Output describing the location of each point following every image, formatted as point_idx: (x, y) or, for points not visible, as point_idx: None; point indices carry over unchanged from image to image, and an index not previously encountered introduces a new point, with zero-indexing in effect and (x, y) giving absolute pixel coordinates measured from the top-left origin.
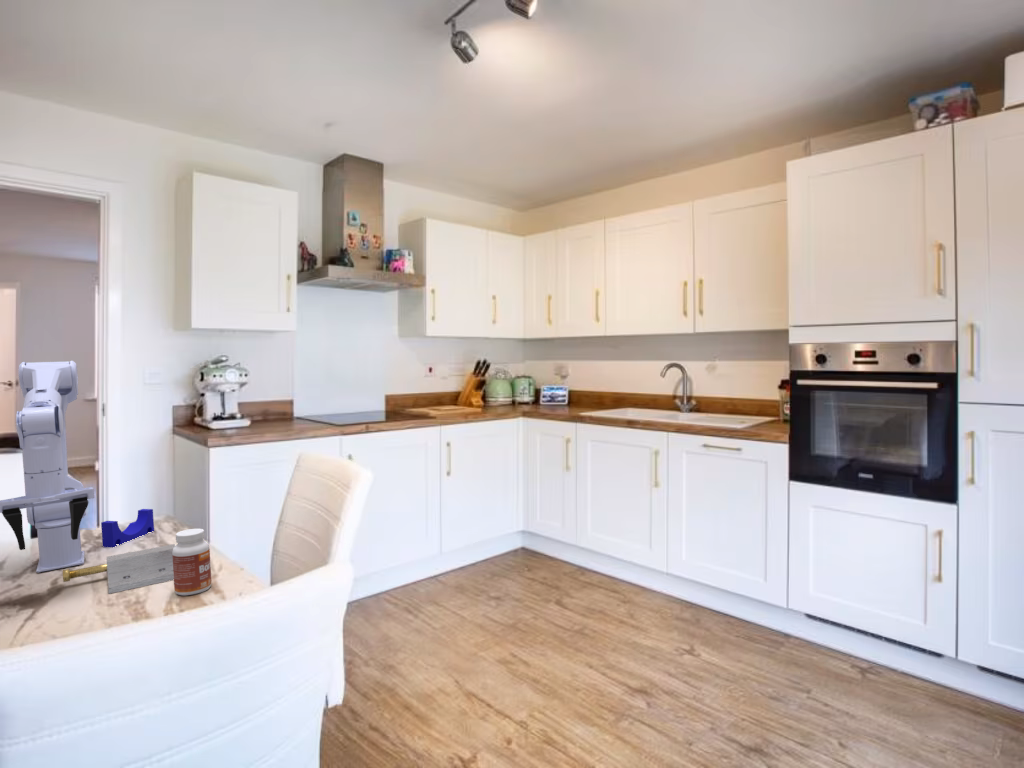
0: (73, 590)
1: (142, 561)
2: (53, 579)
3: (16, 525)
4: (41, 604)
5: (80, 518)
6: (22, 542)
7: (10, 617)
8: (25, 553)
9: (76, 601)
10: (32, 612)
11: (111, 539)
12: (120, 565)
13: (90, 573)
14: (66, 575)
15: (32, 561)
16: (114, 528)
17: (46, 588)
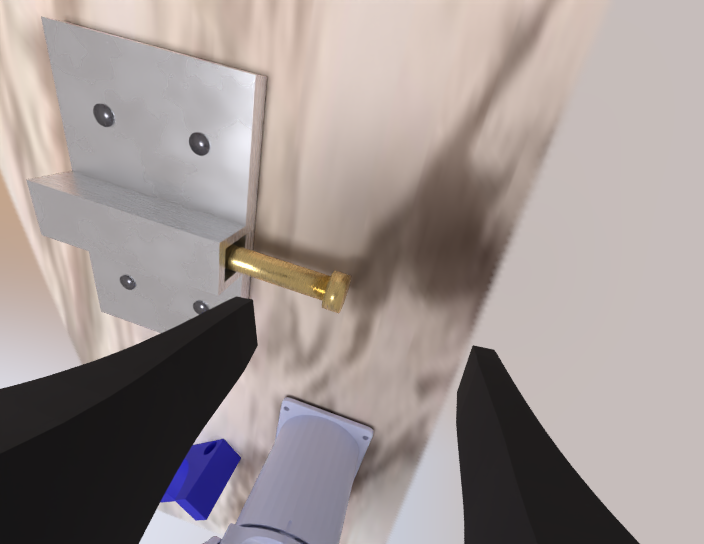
0: (341, 225)
1: (140, 202)
2: (357, 360)
3: (582, 523)
4: (439, 177)
5: (111, 359)
6: (494, 374)
7: (550, 128)
8: (358, 538)
9: (358, 97)
10: (486, 113)
11: (215, 459)
12: (197, 223)
13: (280, 260)
14: (338, 278)
15: (360, 495)
16: (191, 482)
17: (387, 310)
